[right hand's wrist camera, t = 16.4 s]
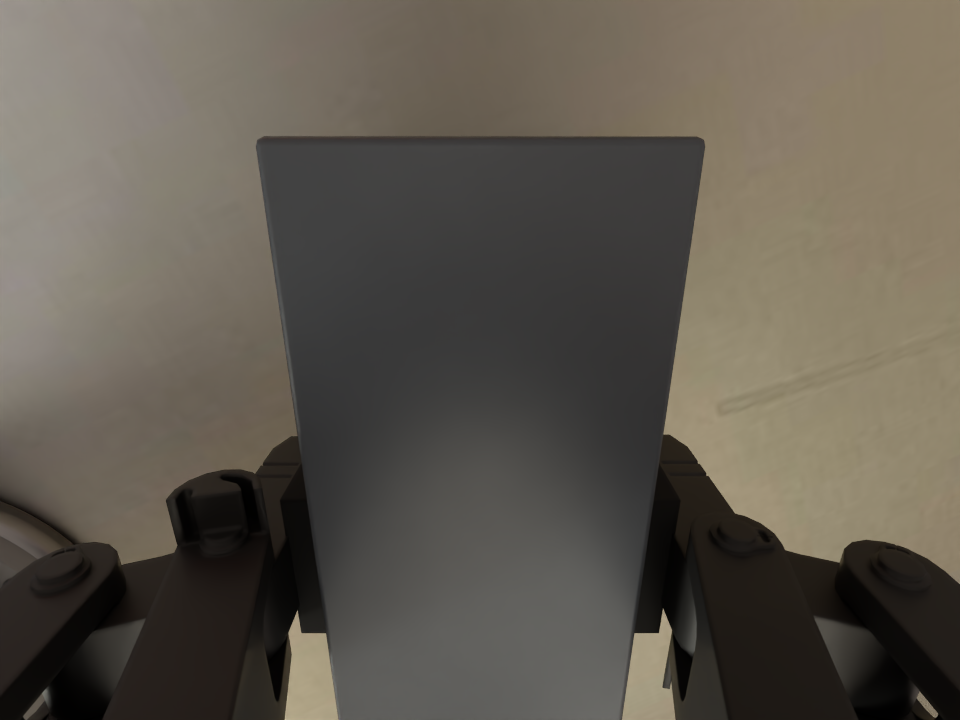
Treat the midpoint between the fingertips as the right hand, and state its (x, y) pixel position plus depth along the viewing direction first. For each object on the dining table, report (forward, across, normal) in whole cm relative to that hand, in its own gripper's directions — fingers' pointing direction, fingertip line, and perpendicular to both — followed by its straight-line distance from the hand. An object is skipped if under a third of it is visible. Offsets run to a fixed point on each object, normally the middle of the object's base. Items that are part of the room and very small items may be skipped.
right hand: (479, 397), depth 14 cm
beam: (+1, 0, -19) cm, 19 cm away
